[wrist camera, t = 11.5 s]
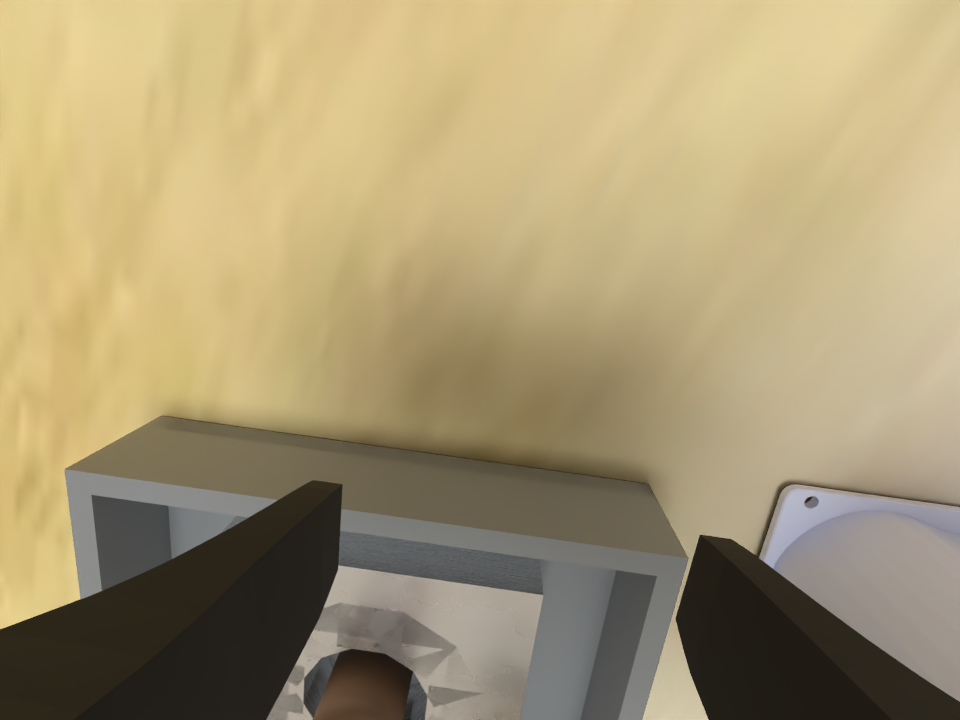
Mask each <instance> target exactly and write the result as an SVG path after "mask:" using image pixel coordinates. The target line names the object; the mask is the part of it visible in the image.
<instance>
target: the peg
mask: <svg viewBox="0 0 960 720" xmlns="http://www.w3.org/2000/svg"><path fill="white" fill-rule="evenodd" d="M412 675H413V671H412V670H410V669H409V668H407V667H406V666H404V665H403V664H401V663H399V662H398V661H396V660H395V659H393V658H392V657H390V656H388V655H387V654H385V653H378V652H371V651H364V650H358V649H349V650H345V651H342V652H339V654H338V657H337V659H336V662H335V664H334V667H333V669H332V672H331V675H330V677H329V680H328V682H327V685H326V687H325V690H324V692H323V695H322V697H321V700H320V702H319V705H318V707H317V710H316V712H315V715H314V718H313V720H403V717H404V713H405V708H406V703H407V699H408V694H409V689H410V684H411V680H412Z"/></svg>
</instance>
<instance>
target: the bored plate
mask: <svg viewBox="0 0 960 720" xmlns="http://www.w3.org/2000/svg"><path fill="white" fill-rule="evenodd" d="M247 518H249V517H243V516H236V517H235V518H234V519H233V520H232V522H231V523H230V524H229V525H228V526H227V527H226V528H225V529H224V530H223V531H222V532H224V531H226V530H228V529H230V528H231V527H233V526H235V525H237V524H238V523H240V522H242V521H244V520H245V519H247ZM222 532H221V533H222ZM542 600H543V585H542V574H541V563H540V559H535V558H528V557H521V556H514V555H507V554H500V553H493V552H486V551H479V550H472V549H465V548H458V547H451V546H444V545H437V544H430V543H423V542H417V541H410V540H403V539H396V538H389V537H382V536H375V535H368V534H361V533H354V532H347V531H340V544H339V563H338V571H337V574H336V577H335V579H334V582H333V585H332V587H331V590H330V593H329V595H328V598H327V600H326V603H325V605H324V608H323V611H322V613H321V616H320V618H319V620H318V622H317V624H316V626H315V628H314V630H313V632H312V634H311V636H310V638H309V639H308V641H307V643H306V645H305V647H304V649H303V651H302V653H301V655H300V657H299V659H298V661H297V663H296V664H295V666H294V668H293V670H292V672H291V674H290V676H289V678H288V680H287V681H286V683H285V685H284V687H283V689H282V691H281V693H280V695H279V697H278V699H277V700H276V702H275V704H274V706H273V708H272V710H271V712H270V714H269V716H268V718H267V719H266V720H313V718H314V715H315V712H316V710H317V707H318V705H319V702H320V700H321V697H322V695H323V692H324V690H325V687H326V685H327V682H328V680H329V677H330V675H331V672H332V669H333V667H334V664H335V663H334V661H333V660H332V658H331V656H330V655H332V654H335V653H339V652H342V651H345V650H349V649H358V650H364V651H371V652H378V653H385V654H387V655H388V656H390V657H392V658H393V659H395V660H396V661H398V662H399V663H401V664H403V665H404V666H406V667H407V668H409V669H410V670H412V671H414V673H415V675H416V677H417V679H418V680H419V682H418V683H415V684H412V685H410V689H409V694H408V699H407V703H406V708H405V713H404V717H403V720H519V718H520V713H521V708H522V703H523V698H524V693H525V688H526V683H527V677H528V672H529V667H530V662H531V657H532V652H533V647H534V641H535V636H536V631H537V626H538V621H539V616H540V611H541V606H542Z"/></svg>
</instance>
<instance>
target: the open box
mask: <svg viewBox="0 0 960 720" xmlns="http://www.w3.org/2000/svg"><path fill="white" fill-rule="evenodd" d="M65 477H66V485H67V493H68V501H69V509H70V517H71V525H72V533H73V541H74V549H75V557H76V565H77V573H78V581H79V589H80V597H81V599H83V598H86V597H88V596H91V595H93V594H96V593H98V592H100V591H103V590H105V589H107V588H110V587H112V586H114V585H117V584H119V583H121V582H123V581H126V580H128V579H130V578H133V577H135V576H137V575H139V574H142V573H144V572H146V571H148V570H150V569H152V568H154V567H157V566H159V565H161V564H163V563H165V562H167V561H169V560H171V559H173V558H175V557H177V556H179V555H181V554H183V553H185V552H186V551H188V550H190V549H192V548H194V547H196V546H198V545H200V544H202V543H203V542H205V541H207V540H209V539H211V538H213V537H215V536H217V535H219V534H220V533H221V532H222V531H223V530H224V529H225V528H226V527H227V526H228V525H229V524H230V523H231V522H232V520H233V519H234V518H235V517H236V516H243V517H250V516H252V515H254V514H255V513H257V512H259V511H261V510H262V509H264V508H266V507H267V506H269V505H271V504H272V503H274V502H276V501H277V500H279V499H281V498H282V497H284V496H286V495H287V494H289V493H291V492H292V491H294V490H296V489H298V488H299V487H301V486H303V485H304V484H306V483H308V482H310V481H312V480H317V481H324V482H331V483H338V484H343V486H342V505H341V525H340V531H347V532H354V533H361V534H368V535H375V536H382V537H389V538H396V539H403V540H410V541H417V542H423V543H430V544H437V545H444V546H451V547H458V548H465V549H472V550H479V551H486V552H493V553H500V554H507V555H514V556H521V557H528V558H535V559H540V563H541V574H542V585H543V600H542V606H541V611H540V616H539V621H538V626H537V631H536V636H535V641H534V647H533V652H532V657H531V662H530V667H529V672H528V677H527V683H526V688H525V693H524V698H523V703H522V708H521V713H520V718H519V720H642V718H643V715H644V711H645V708H646V704H647V701H648V697H649V694H650V690H651V687H652V683H653V680H654V676H655V673H656V669H657V666H658V663H659V659H660V656H661V652H662V649H663V645H664V642H665V638H666V635H667V631H668V628H669V624H670V621H671V617H672V614H673V610H674V607H675V603H676V600H677V596H678V593H679V590H680V586H681V583H682V579H683V576H684V572H685V569H686V565H687V562H688V557H687V555H686V553H685V551H684V549H683V547H682V546H681V544H680V542H679V540H678V538H677V536H676V534H675V533H674V531H673V529H672V527H671V525H670V523H669V521H668V520H667V518H666V516H665V514H664V512H663V510H662V508H661V507H660V505H659V503H658V501H657V499H656V497H655V495H654V494H653V492H652V490H651V488H650V486H649V484H644V483H637V482H630V481H623V480H616V479H609V478H601V477H594V476H587V475H580V474H573V473H566V472H559V471H551V470H544V469H537V468H530V467H523V466H516V465H508V464H501V463H494V462H487V461H480V460H473V459H466V458H458V457H451V456H444V455H437V454H430V453H423V452H416V451H408V450H401V449H394V448H387V447H380V446H373V445H366V444H358V443H351V442H344V441H337V440H330V439H323V438H316V437H308V436H301V435H294V434H287V433H280V432H273V431H266V430H258V429H251V428H244V427H237V426H230V425H223V424H216V423H208V422H201V421H194V420H187V419H180V418H173V417H166V416H160V417H158V418H156V419H155V420H153V421H151V422H149V423H147V424H146V425H144V426H142V427H140V428H138V429H137V430H135V431H133V432H131V433H129V434H128V435H126V436H124V437H122V438H120V439H119V440H117V441H115V442H113V443H111V444H109V445H108V446H106V447H104V448H102V449H100V450H99V451H97V452H95V453H93V454H91V455H90V456H88V457H86V458H84V459H82V460H81V461H79V462H77V463H75V464H73V465H71V466H70V467H68V468H66V469H65ZM338 654H339V653H335V654H332V655H330V656H331V658H332V660H333V661H334V663H335V662H336V659H337V657H338ZM418 682H419V680H418V679H417V677H416V675H415V673H414V671H413V675H412V680H411V684H410V685H412V684H415V683H418Z"/></svg>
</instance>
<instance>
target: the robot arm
mask: <svg viewBox="0 0 960 720" xmlns="http://www.w3.org/2000/svg"><path fill="white" fill-rule="evenodd" d="M342 486H343V484H338V483H331V482H324V481H317V480H312V481H310V482H308V483H306V484H304V485H303V486H301V487H299V488H298V489H296V490H294V491H292V492H291V493H289V494H287V495H286V496H284V497H282V498H281V499H279V500H277V501H276V502H274V503H272V504H271V505H269V506H267V507H266V508H264V509H262V510H261V511H259V512H257V513H255V514H254V515H252V516H250V517H249V518H247V519H245V520H244V521H242V522H240V523H238V524H237V525H235V526H233V527H231V528H230V529H228V530H226V531H224V532H222V533H220V534H219V535H217V536H215V537H213V538H211V539H209V540H207V541H205V542H203V543H202V544H200V545H198V546H196V547H194V548H192V549H190V550H188V551H186V552H185V553H183V554H181V555H179V556H177V557H175V558H173V559H171V560H169V561H167V562H165V563H163V564H161V565H159V566H157V567H154V568H152V569H150V570H148V571H146V572H144V573H142V574H139V575H137V576H135V577H133V578H130V579H128V580H126V581H123V582H121V583H119V584H117V585H114V586H112V587H110V588H107V589H105V590H103V591H100V592H98V593H96V594H93V595H91V596H88V597H86V598H83V599H81V600H78V601H75V602H73V603H70V604H67V605H65V606H62V607H59V608H57V609H54V610H51V611H49V612H46V613H43V614H41V615H38V616H35V617H33V618H30V619H27V620H25V621H22V622H19V623H17V624H14V625H11V626H9V627H6V628H3V629H0V720H266V719H267V718H268V716H269V714H270V712H271V710H272V708H273V706H274V704H275V702H276V700H277V699H278V697H279V695H280V693H281V691H282V689H283V687H284V685H285V683H286V681H287V680H288V678H289V676H290V674H291V672H292V670H293V668H294V666H295V664H296V663H297V661H298V659H299V657H300V655H301V653H302V651H303V649H304V647H305V645H306V643H307V641H308V639H309V638H310V636H311V634H312V632H313V630H314V628H315V626H316V624H317V622H318V620H319V618H320V616H321V613H322V611H323V608H324V605H325V603H326V600H327V598H328V595H329V593H330V590H331V587H332V585H333V582H334V579H335V577H336V574H337V571H338V563H339V544H340V525H341V505H342ZM811 496H812V499H811V500H810V501H809V502H807V503H804V501H805V500H806V498H808V497H811ZM676 622H677V626H678V630H679V634H680V637H681V641H682V645H683V649H684V653H685V656H686V660H687V663H688V667H689V670H690V673H691V676H692V679H693V681H694V684H695V686H696V689H697V691H698V694H699V696H700V699H701V701H702V704H703V706H704V709H705V711H706V714H707V716H708V719H709V720H960V507H956V506H949V505H941V504H934V503H927V502H920V501H913V500H905V499H898V498H891V497H884V496H877V495H869V494H862V493H855V492H848V491H841V490H834V489H826V488H819V487H812V486H805V485H798V484H795V485H790V486H787V487H786V488H784V489H783V490H782V492H781V494H780V497H779V500H778V503H777V506H776V509H775V512H774V515H773V518H772V521H771V524H770V527H769V530H768V533H767V536H766V539H765V541H764V544H763V547H762V550H761V553H760V556H759V558H758V557H757V556H755V555H754V554H752V553H751V552H750V551H748V550H747V549H745V548H744V547H742V546H741V545H739V544H738V543H736V542H735V541H733V540H731V539H726V538H719V537H712V536H705V535H700V537H699V540H698V544H697V547H696V550H695V554H694V557H693V561H692V564H691V568H690V571H689V575H688V578H687V581H686V585H685V588H684V592H683V595H682V599H681V602H680V606H679V609H678V612H677V616H676Z"/></svg>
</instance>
